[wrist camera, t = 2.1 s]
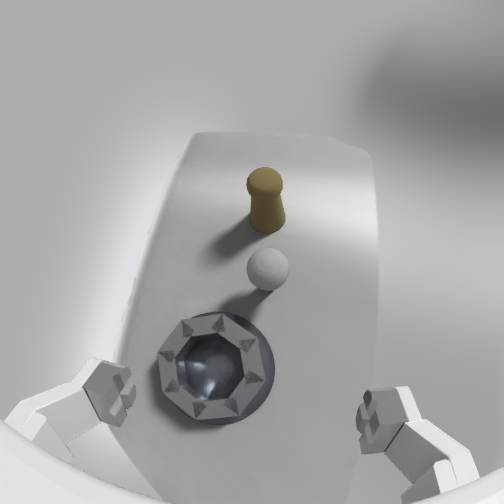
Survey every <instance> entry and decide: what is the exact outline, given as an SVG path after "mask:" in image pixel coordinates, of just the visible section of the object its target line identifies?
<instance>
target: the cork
mask: <svg viewBox="0 0 504 504" xmlns="http://www.w3.org/2000/svg"><path fill="white" fill-rule="evenodd" d="M282 189H283V181H282V178H281V176H280V174H279V173H278V172H277V171H275V170H274V169H272V168H268V167H262V168H258V169H256V170H254V171H253V172H252V173H251V174H250V175H249V177H248V179H247V190H248V192H249V194H250V195H251V213H250V221H251V224H252V226H253V227H254V229H256V230H257V231H259V232H262V233H273V232H276V231H278V230H279V229H280V228H281V227H282V226H283V225H284V223H285V212H284V208H283V204H282V200H281V196H280V193H281V191H282Z"/></svg>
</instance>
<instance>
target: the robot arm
mask: <svg viewBox="0 0 504 504" xmlns="http://www.w3.org/2000/svg"><path fill="white" fill-rule="evenodd" d="M131 375H132V374H131V372H130V369H129V368H128V367H125V366H121V365H118V364H115V363H111V362H108V361H105V360H101V359H98V358H95V357H93V358H91V359H90V360H89V361H88V362H87V363H86V364H85V366H84V367H83V368H82V369H81V371H80V372H79V373H78V374H77V375H76V377H75V378H74V379H73V381H72V382H71V383H65V384H62V385H60V386H57V387H55V388H52V389H50V390H47V391H45V392H42V393H40V394H37V395H35V396H32V397H30V398H27V399H25V400H22V401H20V402H19V404H18V405H17V406H16V407H15V408H14V410H13V411H12V412H11V413H10V415H9V416H8V417H7V418H6V420H5V421H2V420H1V419H0V504H174V503H170V502H166V501H162V500H158V499H155V498H152V497H148V496H146V495H143V494H140V493H136V492H134V491H130V490H128V489H125V488H122V487H120V486H117V485H115V484H112V483H110V482H107V481H105V480H103V479H100V478H98V477H96V476H94V475H91V474H89V473H87V472H85V471H83V470H81V469H79V468H77V467H75V466H73V465H71V464H70V462H71V460H72V458H73V453H72V452H71V450H70V449H69V448H68V447H67V445H66V444H68V443H69V442H71V441H73V440H74V439H76V438H77V437H79V436H81V435H82V434H84V433H85V432H87V431H89V430H90V429H92V428H93V427H95V426H96V425H98V424H99V423H101V421H102V422H104V423H107V424H111V425H114V426H117V427H121V425H122V424H123V422H124V420H125V418H126V416H127V412H126V409H128V408H130V407H132V405H133V403H134V401H135V397H136V387H135V384H134V382H133V381H132V380H131V379H130V377H131ZM363 399H364V402H363V403H362V404H361V405H360V406H359V408H358V411H357V416H356V425H357V430H358V431H359V432H360V433H361V434H362V435H361V437H360V439H359V442H360V448H361V453H362V454H372V453H382V452H385V453H384V454H385V455H386V456H387V457H388V458H389V459H390V460H391V462H392V463H393V464H394V465H395V466H396V467H397V468H398V469H399V470H400V471H401V472H402V473H403V475H404V476H405V477H406V478H407V479H408V480H409V481H410V482H411V483H412V484H413V485H412V486H411V487H409V488H408V489H407V490H406V491H405V492H404V493H403V494H402V495H401V499H402V504H504V466H503V467H501V468H499V469H497V470H495V471H493V472H491V473H489V474H487V475H485V476H483V477H481V478H480V477H479V474H478V471H477V468H476V466H475V463H474V461H473V458H472V456H471V453H470V451H469V450H468V449H467V448H465V447H464V446H462V445H461V444H460V443H458V442H457V441H455V440H454V439H453V438H451V437H450V436H448V435H447V434H445V433H444V432H443V431H442V430H440V429H439V428H437V427H436V426H435V425H433V424H432V423H430V422H429V421H428V420H426V419H424V420H422V418H421V415H420V413H419V410H418V408H417V405H416V403H415V400H414V398H413V396H412V393H411V391H410V389H409V387H407V386H404V387H395V388H383V389H370V390H367V391H366V392H365V394H364V396H363Z"/></svg>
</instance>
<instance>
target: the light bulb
mask: <svg viewBox="0 0 504 504" xmlns="http://www.w3.org/2000/svg"><path fill="white" fill-rule="evenodd" d="M247 274H248V277H249V280H250V281H251V282H252V284H253V285H255V286H256V287H257V288H259V289H262V290H266V291H273V290H275V289H277V288H279V287H280V286H282V285H283V284H284V282H285V281H286V280H287V278H288V275H289V263H288V260H287V258H286V257H285V256H284V255H283V254H282V253H281V252H280V251H278V250H276V249H273V248H263V249H260V250H258V251H256V252H255V253H254V254H253V255H252V256H251V257H250V259H249V261H248V264H247Z"/></svg>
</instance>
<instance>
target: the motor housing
mask: <svg viewBox="0 0 504 504" xmlns="http://www.w3.org/2000/svg"><path fill="white" fill-rule="evenodd" d="M157 353H158V362H159V371H160V379H161V386H162V393H163V394H164V395H166V396H167V397H168V398H169V399H170V400H172V401H173V402H174V404H175V405H176V406H177V407H178V408H179V409H180V410H181V411H183V412H184V413H185V414H187V415H188V416H190V417H192V418H194V419H195V420H199V421H202V422H206V423H211V424H227V423H233V422H236V421H239V420H241V419H244V418H246V417H247V416H249V415H251V414H252V413H253V412H255V411H256V410H257V409H258V408H259V407H260V406H261V405H262V404H263V402H264V401H265V400H266V398H267V396H268V395H269V392H270V390H271V388H272V385H273V381H274V375H275V364H274V358H273V354H272V351H271V348H270V346H269V344H268V342H267V340H266V338H265V337H264V336H263V334H262V333H261V332H260V331H259V330H258V329H257V328H256V327H255V326H254V325H253V324H251V323H250V322H248V321H247V320H245V319H243V318H241V317H239V316H236V315H233V314H230V313H223V312H210V313H204V314H200V315H197V316H195V317H192V318H190V319H184V320H181V321H180V323H179V324H178V325H177V327H176V328H175V329H174V331H173V332H172V333H171V335H170V336H169V337H168V339H167V340H166V341H165V343H164V344H163V345H162V347H161V348H160V349H159V351H158V352H157Z"/></svg>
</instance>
